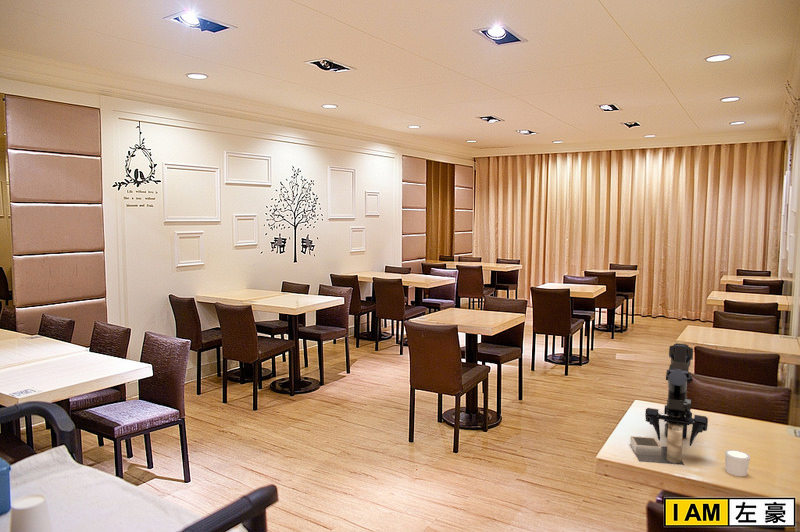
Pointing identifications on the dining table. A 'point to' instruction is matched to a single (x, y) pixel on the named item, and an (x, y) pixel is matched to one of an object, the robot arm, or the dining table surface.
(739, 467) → the white cylinder
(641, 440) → the dock plate
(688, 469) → the dining table surface
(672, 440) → the beige wooden block
